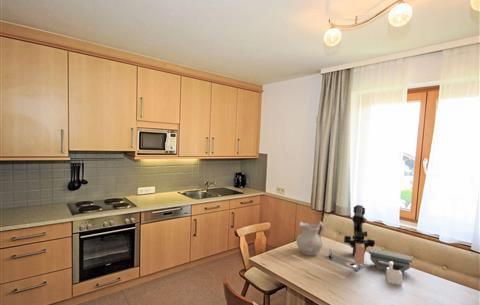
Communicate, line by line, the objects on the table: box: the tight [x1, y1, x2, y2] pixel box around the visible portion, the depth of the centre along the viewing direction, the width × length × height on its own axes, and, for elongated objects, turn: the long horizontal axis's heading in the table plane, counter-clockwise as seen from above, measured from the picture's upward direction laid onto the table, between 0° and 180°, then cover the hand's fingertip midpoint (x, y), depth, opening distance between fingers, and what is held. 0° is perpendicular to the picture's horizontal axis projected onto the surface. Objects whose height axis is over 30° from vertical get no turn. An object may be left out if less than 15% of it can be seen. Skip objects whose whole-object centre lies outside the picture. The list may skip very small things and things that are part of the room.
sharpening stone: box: [368, 247, 413, 274], centre depth 170 cm, size 25×8×11 cm, turn 63°
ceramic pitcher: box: [296, 220, 325, 256], centre depth 191 cm, size 22×20×25 cm
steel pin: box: [328, 248, 334, 257], centre depth 184 cm, size 2×2×6 cm
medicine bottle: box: [385, 261, 403, 286], centre depth 154 cm, size 7×7×12 cm
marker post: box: [354, 243, 366, 266], centre depth 165 cm, size 5×5×12 cm
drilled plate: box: [325, 254, 364, 273], centre depth 176 cm, size 11×23×1 cm, turn 42°
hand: (359, 253), depth 163 cm, fingers closed on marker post, 5 cm apart
